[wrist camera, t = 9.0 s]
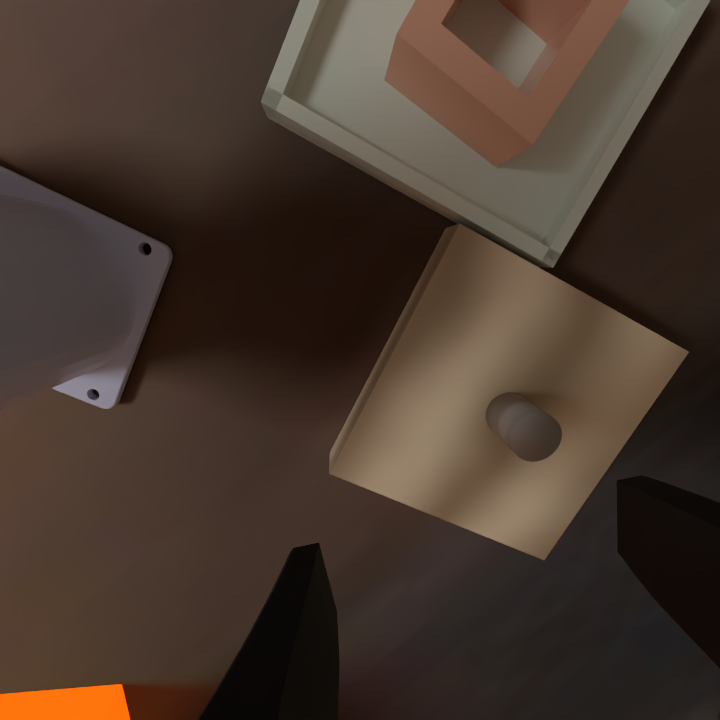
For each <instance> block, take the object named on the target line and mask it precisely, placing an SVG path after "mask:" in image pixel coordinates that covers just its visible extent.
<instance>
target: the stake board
mask: <svg viewBox="0 0 720 720" xmlns="http://www.w3.org/2000/svg"><path fill="white" fill-rule="evenodd" d="M688 353H689V352H688V351H687V350H685V349H683V348H681V347H680V346H678V345H676V344H674V343H672V342H671V341H669V340H667V339H665V338H663V337H662V336H660V335H658V334H656V333H655V332H653V331H651V330H649V329H647V328H646V327H644V326H642V325H640V324H639V323H637V322H635V321H633V320H631V319H630V318H628V317H626V316H624V315H622V314H621V313H619V312H617V311H615V310H614V309H612V308H610V307H608V306H606V305H605V304H603V303H601V302H599V301H598V300H596V299H594V298H592V297H590V296H589V295H587V294H585V293H583V292H582V291H580V290H578V289H576V288H574V287H573V286H571V285H569V284H567V283H565V282H564V281H562V280H560V279H558V278H557V277H555V276H553V275H551V274H549V273H548V272H546V271H544V270H542V269H541V268H539V267H537V266H535V265H533V264H532V263H530V262H528V261H526V260H524V259H523V258H521V257H519V256H517V255H516V254H514V253H512V252H510V251H508V250H507V249H505V248H503V247H501V246H500V245H498V244H496V243H494V242H492V241H491V240H489V239H487V238H485V237H484V236H482V235H480V234H478V233H476V232H475V231H473V230H471V229H469V228H467V227H466V226H464V225H462V224H457V225H454V226H451V227H448V228H445V230H444V232H443V234H442V236H441V238H440V240H439V242H438V244H437V246H436V248H435V250H434V252H433V253H432V255H431V257H430V259H429V261H428V263H427V265H426V267H425V269H424V271H423V273H422V275H421V277H420V279H419V281H418V283H417V284H416V286H415V288H414V290H413V292H412V294H411V296H410V298H409V300H408V302H407V304H406V306H405V308H404V310H403V312H402V314H401V315H400V317H399V319H398V321H397V323H396V325H395V327H394V329H393V331H392V333H391V335H390V337H389V339H388V341H387V343H386V344H385V346H384V348H383V350H382V352H381V354H380V356H379V358H378V360H377V362H376V364H375V366H374V368H373V370H372V372H371V374H370V375H369V377H368V379H367V381H366V383H365V385H364V387H363V389H362V391H361V393H360V395H359V397H358V399H357V401H356V403H355V405H354V406H353V408H352V410H351V412H350V414H349V416H348V418H347V420H346V422H345V424H344V426H343V428H342V430H341V432H340V434H339V436H338V437H337V439H336V441H335V443H334V445H333V447H332V449H331V451H330V466H329V474H331V475H334V476H336V477H339V478H341V479H344V480H346V481H349V482H351V483H354V484H356V485H359V486H361V487H364V488H366V489H369V490H371V491H374V492H376V493H379V494H381V495H384V496H386V497H389V498H391V499H394V500H396V501H399V502H401V503H404V504H406V505H408V506H411V507H413V508H416V509H418V510H421V511H423V512H426V513H428V514H431V515H433V516H436V517H438V518H441V519H443V520H446V521H448V522H451V523H453V524H456V525H458V526H461V527H463V528H466V529H468V530H471V531H473V532H476V533H478V534H480V535H483V536H485V537H488V538H490V539H493V540H495V541H498V542H500V543H503V544H505V545H508V546H510V547H513V548H515V549H518V550H520V551H523V552H525V553H528V554H530V555H533V556H535V557H538V558H540V559H543V560H545V558H546V557H547V555H548V554H549V552H550V551H551V550H552V548H553V547H554V545H555V544H556V542H557V541H558V539H559V538H560V537H561V535H562V534H563V532H564V531H565V529H566V528H567V527H568V525H569V524H570V522H571V521H572V519H573V518H574V517H575V515H576V514H577V512H578V511H579V509H580V508H581V506H582V505H583V504H584V502H585V501H586V499H587V498H588V496H589V495H590V494H591V492H592V491H593V489H594V488H595V486H596V485H597V483H598V482H599V481H600V479H601V478H602V476H603V475H604V473H605V472H606V471H607V469H608V468H609V466H610V465H611V463H612V462H613V461H614V459H615V458H616V456H617V455H618V453H619V452H620V450H621V449H622V448H623V446H624V445H625V443H626V442H627V440H628V439H629V438H630V436H631V435H632V433H633V432H634V430H635V429H636V427H637V426H638V425H639V423H640V422H641V420H642V419H643V417H644V416H645V415H646V413H647V412H648V410H649V409H650V407H651V406H652V405H653V403H654V402H655V400H656V399H657V397H658V396H659V394H660V393H661V392H662V390H663V389H664V387H665V386H666V384H667V383H668V382H669V380H670V379H671V377H672V376H673V374H674V373H675V371H676V370H677V369H678V367H679V366H680V364H681V363H682V361H683V360H684V359H685V357H686V356H687V354H688Z"/></svg>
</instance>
